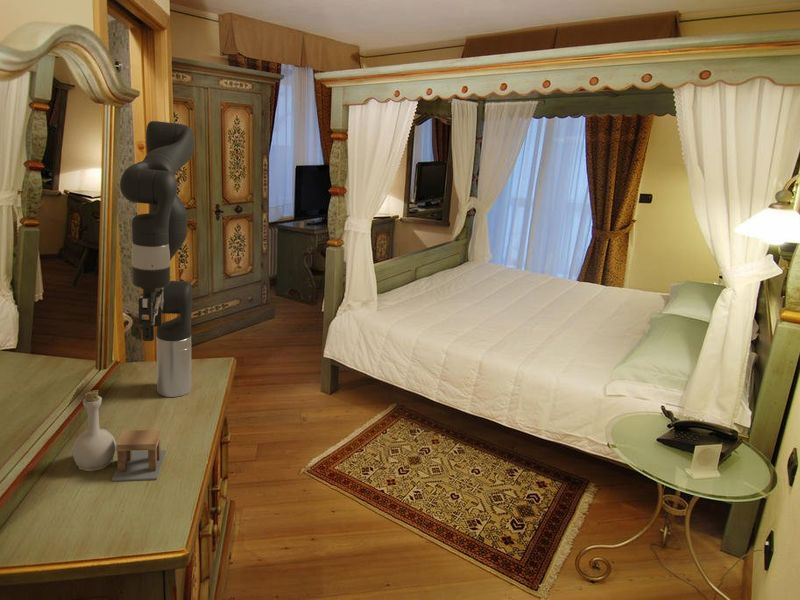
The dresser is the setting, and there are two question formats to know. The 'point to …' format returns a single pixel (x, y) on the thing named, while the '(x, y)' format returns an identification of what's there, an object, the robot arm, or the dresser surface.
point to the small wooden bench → (138, 447)
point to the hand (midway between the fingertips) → (152, 332)
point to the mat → (139, 468)
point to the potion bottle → (93, 439)
